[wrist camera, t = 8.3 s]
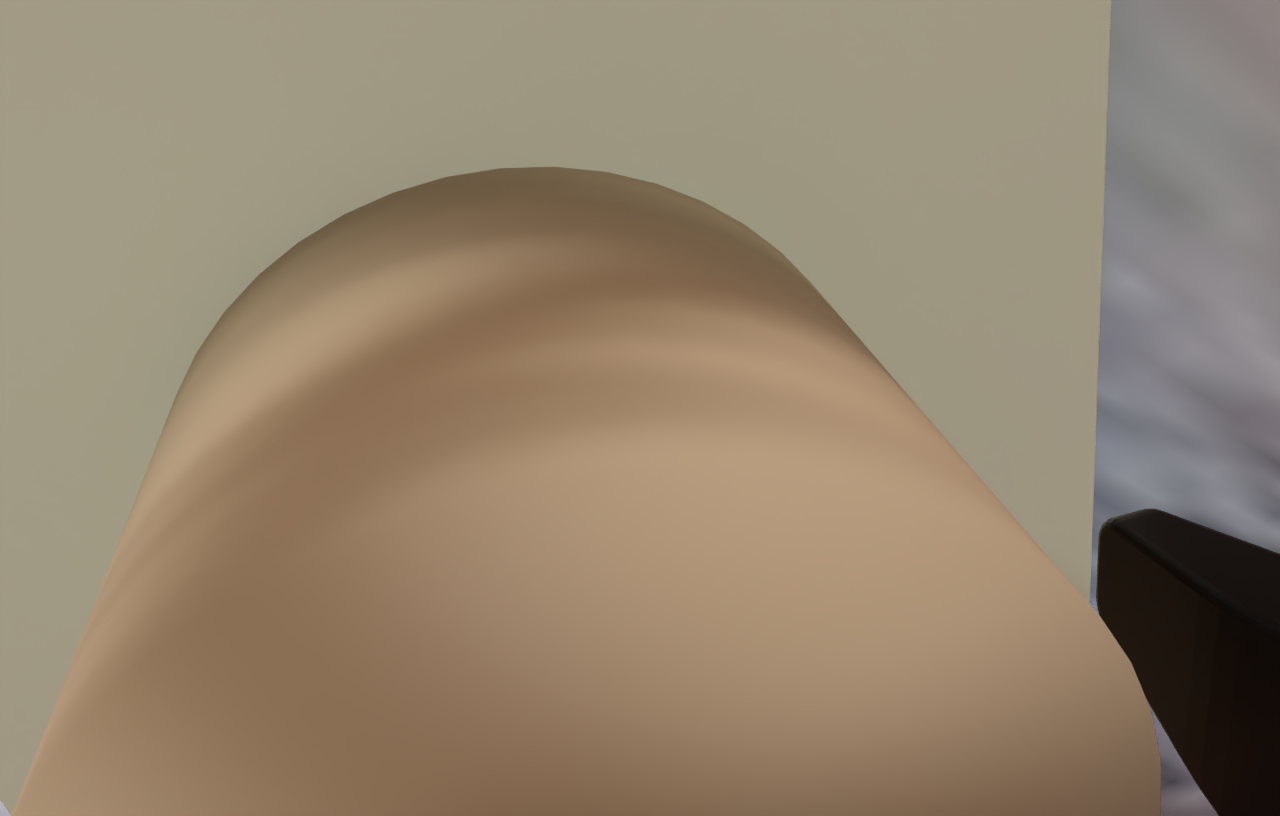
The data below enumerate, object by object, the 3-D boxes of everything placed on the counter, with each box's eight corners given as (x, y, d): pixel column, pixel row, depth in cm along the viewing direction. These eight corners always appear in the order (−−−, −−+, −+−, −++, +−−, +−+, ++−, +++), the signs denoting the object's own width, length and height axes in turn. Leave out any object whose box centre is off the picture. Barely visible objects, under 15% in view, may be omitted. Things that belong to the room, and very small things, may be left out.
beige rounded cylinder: (843, 87, 10) (1203, 309, 5) (892, 682, 13) (1134, 1112, 9) (25, 271, 9) (-323, 691, 5) (299, 841, 13) (244, 1386, 8)
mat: (1080, -298, 9) (1121, -304, 9) (1060, 742, 15) (1084, 775, 14) (-456, 11, 8) (-513, 24, 8) (165, 991, 14) (157, 1035, 14)
